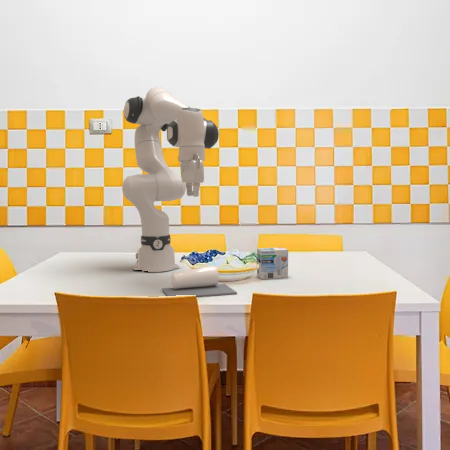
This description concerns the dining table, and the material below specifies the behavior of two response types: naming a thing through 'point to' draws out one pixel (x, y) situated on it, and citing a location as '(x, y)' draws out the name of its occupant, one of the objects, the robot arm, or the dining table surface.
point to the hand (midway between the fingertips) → (192, 196)
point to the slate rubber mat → (201, 291)
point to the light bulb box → (272, 263)
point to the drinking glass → (195, 278)
